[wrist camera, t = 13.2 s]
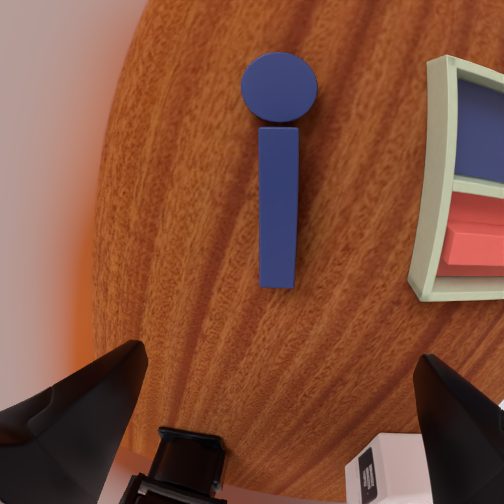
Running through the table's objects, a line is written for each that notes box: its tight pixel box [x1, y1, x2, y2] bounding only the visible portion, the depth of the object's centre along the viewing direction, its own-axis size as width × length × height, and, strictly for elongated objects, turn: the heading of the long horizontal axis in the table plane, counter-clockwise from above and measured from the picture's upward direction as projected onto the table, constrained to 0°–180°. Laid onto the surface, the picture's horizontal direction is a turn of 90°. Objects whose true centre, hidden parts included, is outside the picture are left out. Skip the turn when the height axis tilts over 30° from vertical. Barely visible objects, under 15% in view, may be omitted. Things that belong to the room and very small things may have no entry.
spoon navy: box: [241, 52, 317, 288], centre depth 15 cm, size 12×4×2 cm, turn 1°
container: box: [345, 433, 433, 504], centre depth 19 cm, size 8×8×13 cm
